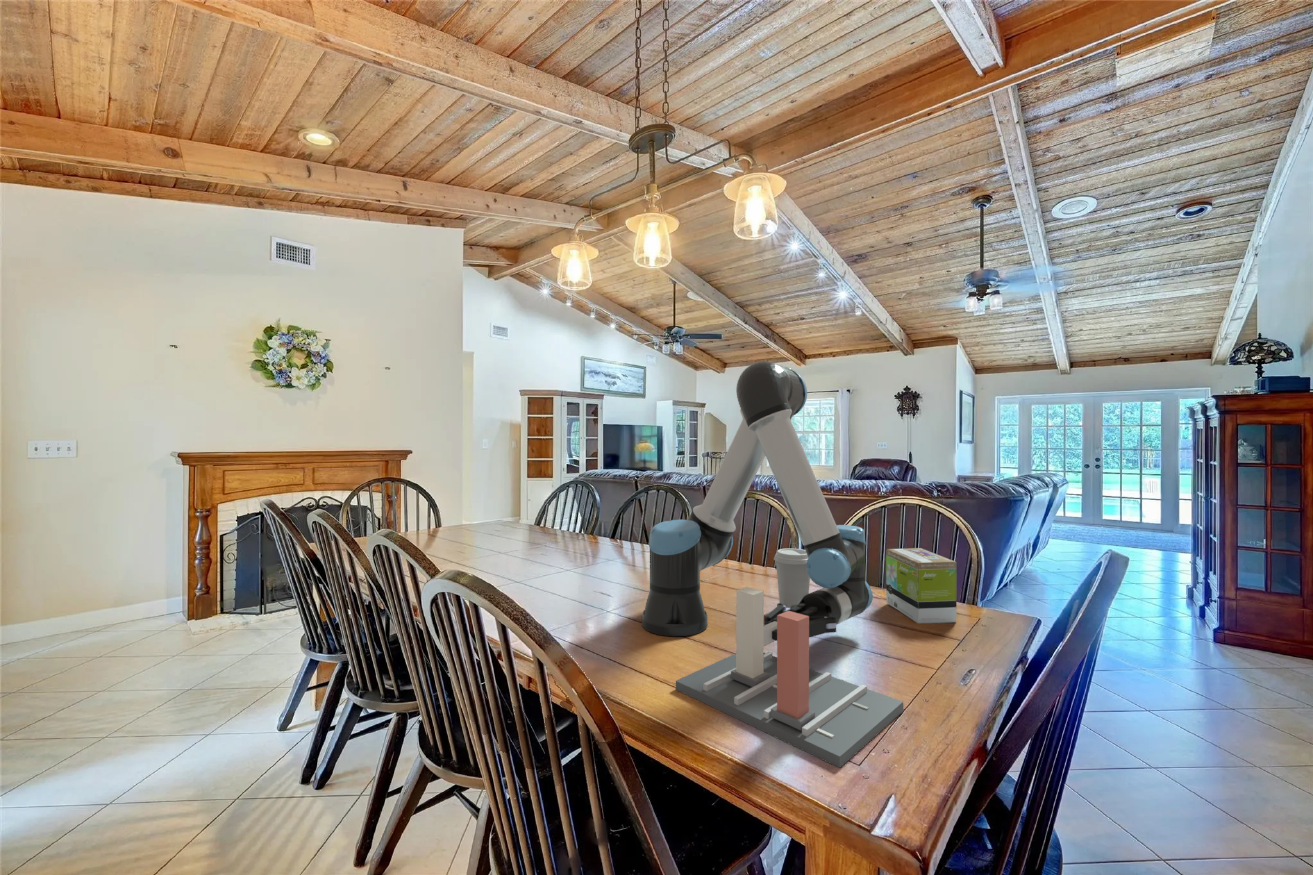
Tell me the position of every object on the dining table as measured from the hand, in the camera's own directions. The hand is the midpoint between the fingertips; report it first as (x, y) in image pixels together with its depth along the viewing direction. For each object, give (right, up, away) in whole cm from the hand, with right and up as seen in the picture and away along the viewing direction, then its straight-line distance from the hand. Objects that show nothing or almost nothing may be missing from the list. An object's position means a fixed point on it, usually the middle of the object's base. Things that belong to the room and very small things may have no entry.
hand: (757, 638), depth 92 cm
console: (+4, -9, -4) cm, 10 cm away
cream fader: (-1, -7, -1) cm, 7 cm away
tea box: (+48, -9, +40) cm, 63 cm away
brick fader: (+3, -7, -14) cm, 15 cm away
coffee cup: (+17, -9, +40) cm, 44 cm away
